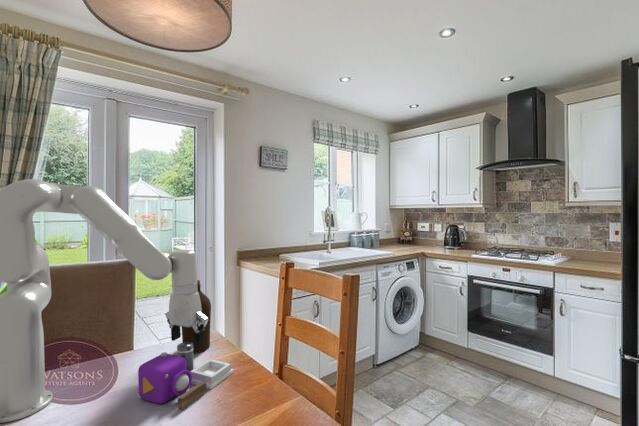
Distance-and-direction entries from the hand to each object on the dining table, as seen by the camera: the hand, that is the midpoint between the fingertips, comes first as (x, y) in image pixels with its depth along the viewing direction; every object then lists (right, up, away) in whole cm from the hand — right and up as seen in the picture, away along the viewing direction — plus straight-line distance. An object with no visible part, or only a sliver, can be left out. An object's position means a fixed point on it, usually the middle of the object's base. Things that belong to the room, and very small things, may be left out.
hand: (187, 341), depth 103 cm
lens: (-1, -9, 0) cm, 9 cm away
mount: (+9, -9, -5) cm, 14 cm away
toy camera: (0, -10, -14) cm, 17 cm away
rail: (+8, -9, -17) cm, 21 cm away
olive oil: (-3, -9, +16) cm, 18 cm away
